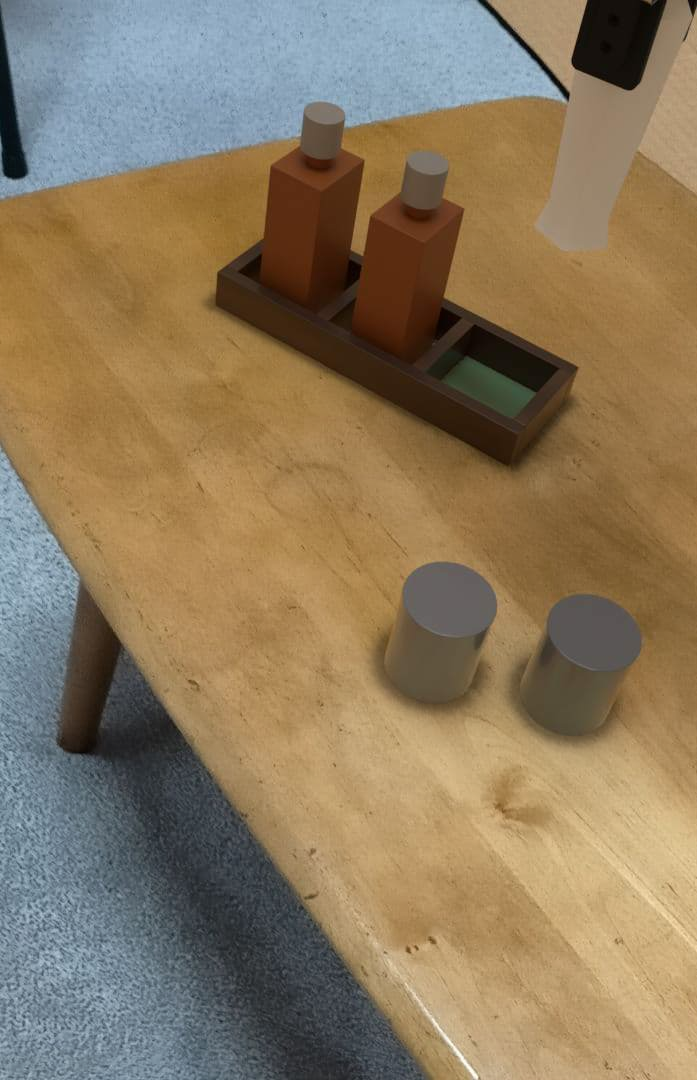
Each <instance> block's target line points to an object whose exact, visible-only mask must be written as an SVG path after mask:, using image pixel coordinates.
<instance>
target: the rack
mask: <svg viewBox="0 0 697 1080" xmlns="http://www.w3.org/2000/svg"><path fill="white" fill-rule="evenodd" d="M263 240H264V237H263V238H262V239H260V240H259V241H258V242H256V243H255V244H254V245H252V246H251V247H249V248H248V249H246V250H245V251H244V252H242V253H241V254H240V255H239V256H237V257H236V258H234V259H233V260H231V261H230V262H229V263H227V264H226V265H224V266H223V267H221V269H219V270H218V271H217V272H216V287H215V303H214V305H215V306H216V307H218V308H220V309H221V310H223V311H225V312H227V313H229V314H230V315H232V316H234V317H236V318H238V319H239V320H242V321H243V322H245V323H247V324H249V325H251V327H254V328H256V329H258V330H259V331H261V332H263V333H265V334H267V335H269V336H270V337H272V338H274V339H276V340H278V341H279V342H281V343H283V344H285V345H287V346H288V347H290V348H292V349H294V350H296V351H298V353H302V354H303V355H305V356H306V357H309V358H311V359H312V360H314V361H316V362H317V363H319V364H322V365H323V366H325V367H327V368H328V369H330V370H332V371H334V372H336V373H338V374H339V375H341V376H343V377H345V378H347V379H349V380H350V381H352V382H353V383H356V384H358V385H359V386H361V387H363V388H365V389H366V390H369V391H370V392H372V393H373V394H376V395H377V396H379V397H381V398H383V399H385V400H387V401H389V402H390V403H392V404H394V405H396V406H397V407H399V408H402V409H403V410H405V411H407V412H409V413H410V414H412V415H414V416H416V417H417V418H419V419H421V420H423V421H425V422H426V423H428V424H430V425H432V426H433V427H436V428H438V429H439V430H441V431H443V432H445V433H447V434H449V435H450V436H452V437H454V438H455V439H457V440H459V441H461V442H463V443H465V444H467V445H468V446H470V447H472V448H474V449H476V450H477V451H479V452H481V453H482V454H484V455H486V456H488V457H490V458H492V459H493V460H495V461H497V462H499V463H501V464H503V465H505V466H507V467H510V466H511V464H512V463H513V462H514V461H515V460H516V459H517V458H518V456H519V455H520V454H521V453H522V452H524V451H523V450H525V448H526V447H527V446H528V445H529V444H530V443H531V441H533V439H534V438H535V437H536V436H537V434H538V433H539V432H541V430H542V429H543V428H544V427H545V425H546V424H547V423H548V422H549V421H550V420H551V419H552V417H554V415H556V413H557V412H558V410H560V408H562V406H563V405H564V404H565V402H566V401H567V400H568V399H569V396H570V394H571V391H572V388H573V386H574V383H575V379H576V377H577V374H578V372H579V369H580V368H579V366H577V365H576V364H573V363H572V362H571V361H570V362H569V361H568V360H565V359H564V358H562V357H561V356H558V355H556V354H554V353H552V352H551V351H548V350H546V349H545V348H542V347H541V346H538V345H536V343H533V342H531V341H530V340H527V339H525V338H523V337H521V336H519V335H517V334H515V333H514V332H511V331H510V330H508V329H506V328H503V327H501V326H500V325H497V324H496V323H494V322H492V321H490V320H489V319H486V318H484V317H482V316H480V315H478V314H476V313H475V312H472V311H470V310H469V309H467V308H466V307H463V306H461V305H459V304H457V303H455V302H453V301H451V300H449V299H447V298H445V297H444V298H443V303H442V307H441V311H440V315H439V320H438V324H437V328H436V332H435V336H434V341H436V342H435V343H433V345H432V347H431V348H430V349H429V350H428V351H427V352H426V353H425V354H424V355H422V356H421V357H420V358H419V359H418V360H417V361H416V362H415V363H414V364H413V365H410V364H408V363H406V362H404V361H402V360H400V359H399V358H397V357H395V356H393V355H391V354H389V353H387V352H385V351H384V350H382V349H380V348H378V347H376V346H374V345H372V344H371V343H369V342H367V341H365V340H363V339H361V338H359V337H358V336H356V335H354V334H352V333H350V332H351V326H352V320H353V314H354V308H355V302H356V297H357V291H358V285H359V279H360V273H361V267H362V261H363V255H362V254H359V253H358V252H356V251H354V250H352V249H351V250H350V257H349V263H348V269H347V275H346V282H345V288H344V292H343V293H342V294H341V295H339V296H338V297H337V298H336V299H334V300H333V301H332V302H331V303H330V304H328V305H327V306H326V307H325V308H324V309H322V310H321V311H320V312H319V313H318V314H315V313H313V312H311V311H309V310H307V309H305V308H304V307H302V306H300V305H298V304H296V303H294V302H292V301H291V300H289V299H287V298H285V297H283V296H281V295H279V294H278V293H276V292H274V291H272V290H270V289H268V288H266V287H265V286H263V285H261V284H259V281H260V271H261V260H262V250H263Z"/></svg>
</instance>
